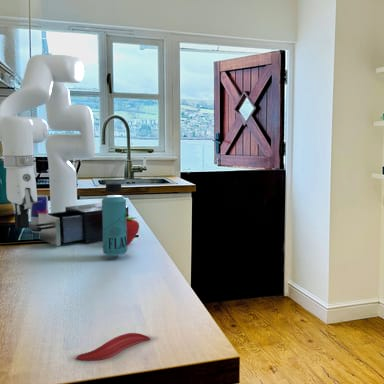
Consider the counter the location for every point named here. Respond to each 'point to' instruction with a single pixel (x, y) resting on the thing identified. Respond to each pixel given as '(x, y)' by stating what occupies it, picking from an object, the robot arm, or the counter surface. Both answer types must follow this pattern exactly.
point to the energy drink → (38, 210)
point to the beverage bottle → (114, 221)
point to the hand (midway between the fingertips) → (22, 227)
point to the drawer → (60, 227)
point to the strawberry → (131, 228)
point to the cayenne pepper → (113, 346)
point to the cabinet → (91, 221)
